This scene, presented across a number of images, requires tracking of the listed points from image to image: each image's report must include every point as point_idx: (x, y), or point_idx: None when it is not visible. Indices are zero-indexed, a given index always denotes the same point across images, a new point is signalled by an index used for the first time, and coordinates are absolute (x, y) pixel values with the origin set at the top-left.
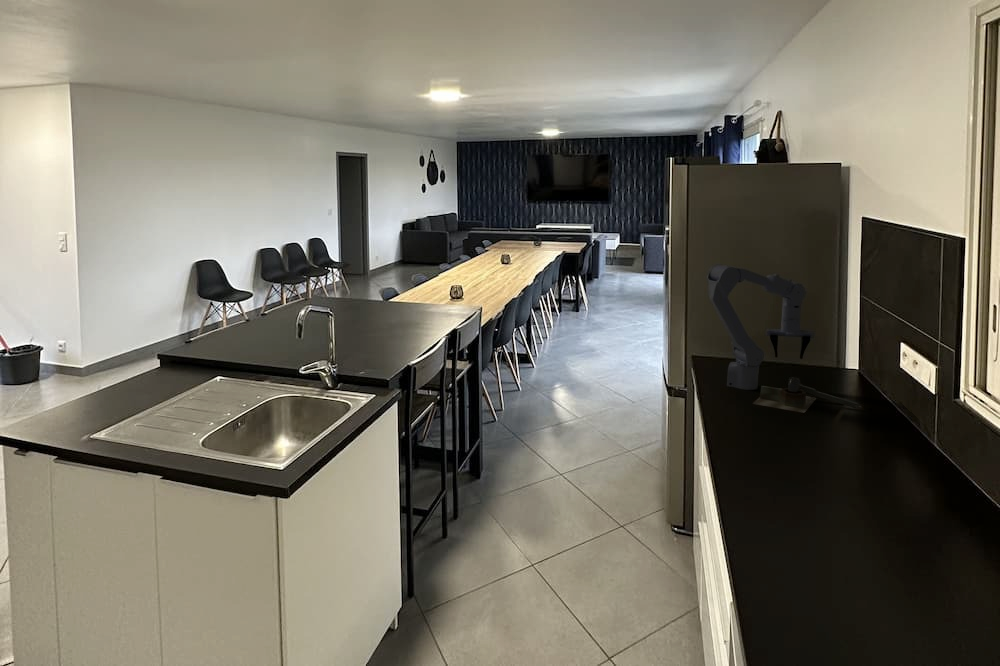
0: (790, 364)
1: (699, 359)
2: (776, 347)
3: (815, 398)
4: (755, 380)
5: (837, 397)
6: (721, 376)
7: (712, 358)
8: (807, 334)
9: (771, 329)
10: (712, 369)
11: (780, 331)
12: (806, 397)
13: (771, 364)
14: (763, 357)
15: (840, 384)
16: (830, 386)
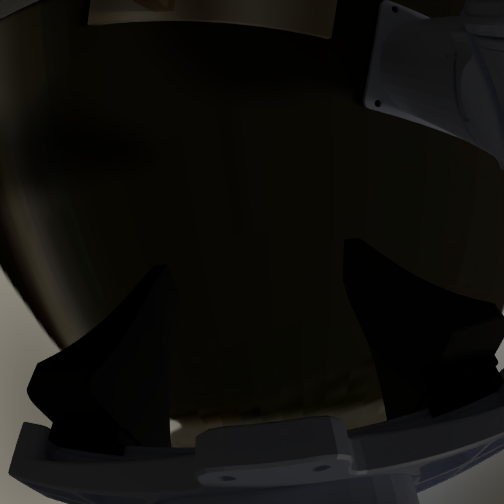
0: (264, 414)
1: None
2: (393, 280)
3: (92, 13)
4: (412, 33)
5: (2, 7)
6: (485, 226)
7: None
8: (57, 463)
9: (485, 458)
10: (488, 290)
11: (419, 470)
12: (130, 2)
13: (314, 399)
14: (477, 18)
15: (82, 303)
16: (97, 268)
